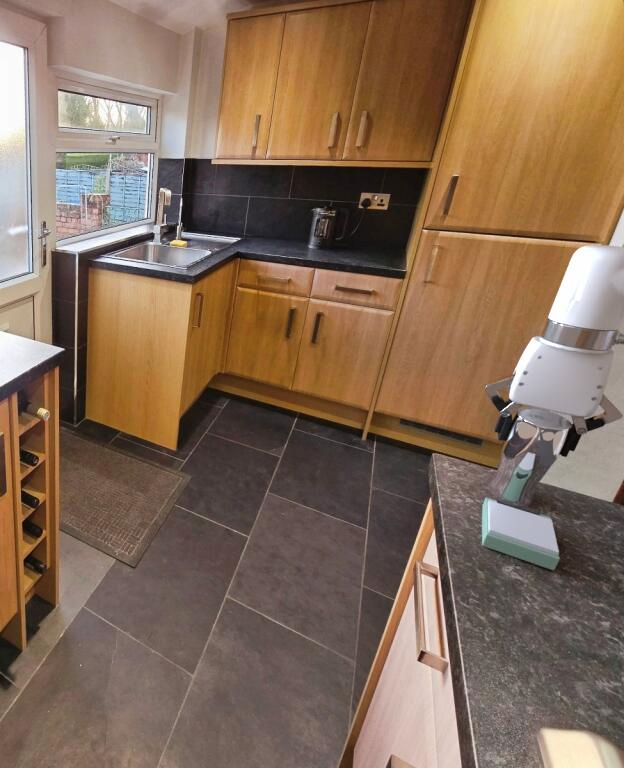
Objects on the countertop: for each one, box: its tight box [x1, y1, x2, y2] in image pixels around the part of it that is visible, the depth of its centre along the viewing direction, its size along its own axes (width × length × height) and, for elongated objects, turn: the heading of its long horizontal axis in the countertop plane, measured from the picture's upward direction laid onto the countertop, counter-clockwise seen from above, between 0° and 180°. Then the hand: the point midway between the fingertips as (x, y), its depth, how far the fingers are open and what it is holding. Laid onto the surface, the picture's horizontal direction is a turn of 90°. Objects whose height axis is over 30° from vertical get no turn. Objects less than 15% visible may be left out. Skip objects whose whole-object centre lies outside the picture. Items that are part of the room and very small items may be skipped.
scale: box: [481, 497, 561, 571], centre depth 72 cm, size 11×8×3 cm
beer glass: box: [486, 407, 573, 508], centre depth 78 cm, size 7×7×15 cm
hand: (530, 444), depth 77 cm, fingers closed on beer glass, 7 cm apart
